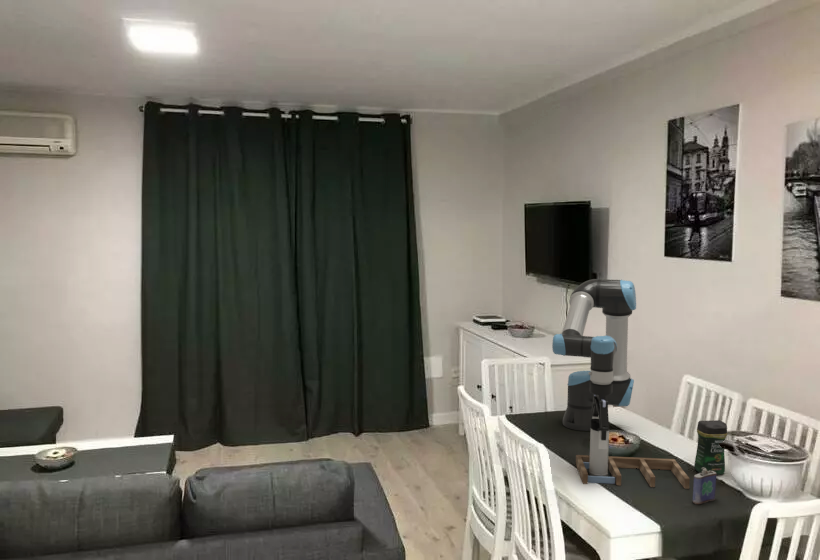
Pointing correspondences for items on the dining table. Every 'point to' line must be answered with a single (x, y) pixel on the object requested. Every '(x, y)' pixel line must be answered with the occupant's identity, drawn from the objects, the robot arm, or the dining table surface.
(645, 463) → the divider rack
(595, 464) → the travel mug
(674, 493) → the dining table surface
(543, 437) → the dining table surface
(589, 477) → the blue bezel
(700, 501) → the flask
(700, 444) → the coffee jar
